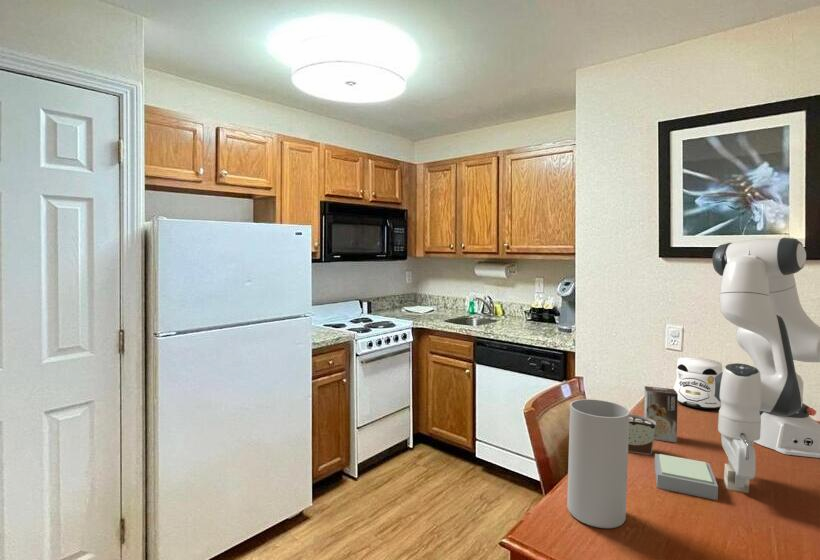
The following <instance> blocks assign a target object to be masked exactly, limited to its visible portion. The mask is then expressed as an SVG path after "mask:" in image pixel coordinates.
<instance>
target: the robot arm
mask: <svg viewBox="0 0 820 560" xmlns="http://www.w3.org/2000/svg"><path fill="white" fill-rule="evenodd" d="M806 260H807V252H806V249H805V246H804V245H803V243H802V242H801V241H800V240H798V239H797V238H792V237H781V238H755V239H751V240H744V241H739V242H726V243H723V244H720V245H718V246H717V247H716V248H715V249H714V251H713V253H712V260H711V261H712V267H713V270H714V271H715V272H716V273H717V274H718V275H719V276H721V283H720V290H719V291H720V292H719V307H720V312H721V314H722V316H723V317H724V318H725V319H726V320H727V321H728V322H730V323H731V324H733V325H735V326H736V327H738V328H737V329H736V330H737V331H736V334H735V339H736V342H737V344H738V345H739V347H740V348H741V349H742V350H744V351H745V353H747V355H749V357H750V358H751V360H752V362H753V364H754V366H752V365H749V364H746V363H740V362H737V363H728V364H726V365H725V366H724V367H723V369H722V373H720V374H719V375H717V376H716V377H715V395H714V396H715V397H716V398H717V400H718V401H719V402H721V407H719V410H718V421H717V431H718V432H719V433H720V436H721V437H720V438H721V446H722V448H723V450H724V452H725V454H726V457H727V460H728V464H731V465H732V467H733V469H734V471H735V473H736V476H735V485H736V486H737V487H744V482H745V479H746V478H747V479H749V480H754V479H755V478H756V450H755V447H754V443H755V444H758V445H760V446H762V447H766V448H769V449H772V450H774V451H776V452H778V453H781V454H784V455H788V456H791V455H792V456H798V457H799V456H800V457H808V458H817V459H820V423H818V421H816V420H815V419H813V417H814V416H815V415H817V410H815V409H814V408H813V407H810V406H809V405H807V404H805V403H804V380H803V379H802V376H800V374H798V373H797V372H796V366H795V363H794V361H798V362H802V363H820V325H818V324H817V323H816V322H814V320H812V319H811V318H810V316H809V315H808V314H807V313H806V312H805V310H804V309H803V307H802V304H801V301H800V298H799V293H798V289H797V283H796V278H795V275H794V274H797V273H798V272H800V271H802V269H803V268H804V266H805V263H806Z"/></svg>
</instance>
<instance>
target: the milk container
mask: <svg viewBox="0 0 820 560" xmlns="http://www.w3.org/2000/svg"><path fill="white" fill-rule="evenodd" d="M722 372H723V365H722V363H721V362H720V361H718V360H717V361H716V360H712V359H707V358H701V357H692V356H691V357H687V356H686V357H684V356H683V357H679V358H678V359H677V364H676V380H675V382H674V386H673V389H674V390H675V391H676V392H677V394H678V403H679V404H682V405H683V406H684V405H685V406H687V407H691V408H696V409H702V410H703V409H704V410H714V409H718V408H719V409H720V407H721V402H719V401H718V400H717V398H716V397H715V396H714V395H715V377H716V376H717V375H719V374H720V373H722Z"/></svg>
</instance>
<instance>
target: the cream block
mask: <svg viewBox="0 0 820 560" xmlns="http://www.w3.org/2000/svg"><path fill="white" fill-rule="evenodd" d="M723 470H724V472H723V482H724V484H725V485H724V486H725V488H726V489H727V490H729V491H735V492H739V493H740V492H741V493H744V494H749V493H750V479H747V478H746V479H745V482H744V487H737V486H736V485H735V476H736V473H735V471H734V469H733V467H732V465H731V464H729V463H724V469H723Z"/></svg>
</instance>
